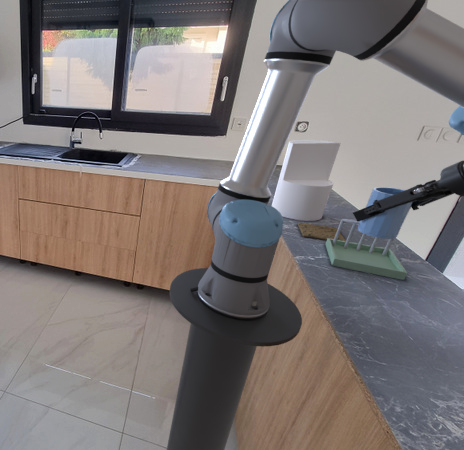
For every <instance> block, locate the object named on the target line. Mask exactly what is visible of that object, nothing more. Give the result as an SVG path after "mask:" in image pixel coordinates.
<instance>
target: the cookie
mask: <svg viewBox="0 0 464 450" xmlns="http://www.w3.org/2000/svg"><path fill="white" fill-rule="evenodd" d="M297 225H298V229H299V231H300V234H301V236H302V237H305V238H313V239H314V238H315V239H317V240H319V239H320V240H324V241H327V238H329V239H334V238H335V235H336V232H337V230H338V228H337V227H334V226H327V225H326V226H325V225H318V224H312V223H308V222H306V223H305V222H298V223H297ZM337 240H340V241H346V240H347V239H345V237H344V235H342V233H341V232H340V234H339V236H338V239H337Z"/></svg>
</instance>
